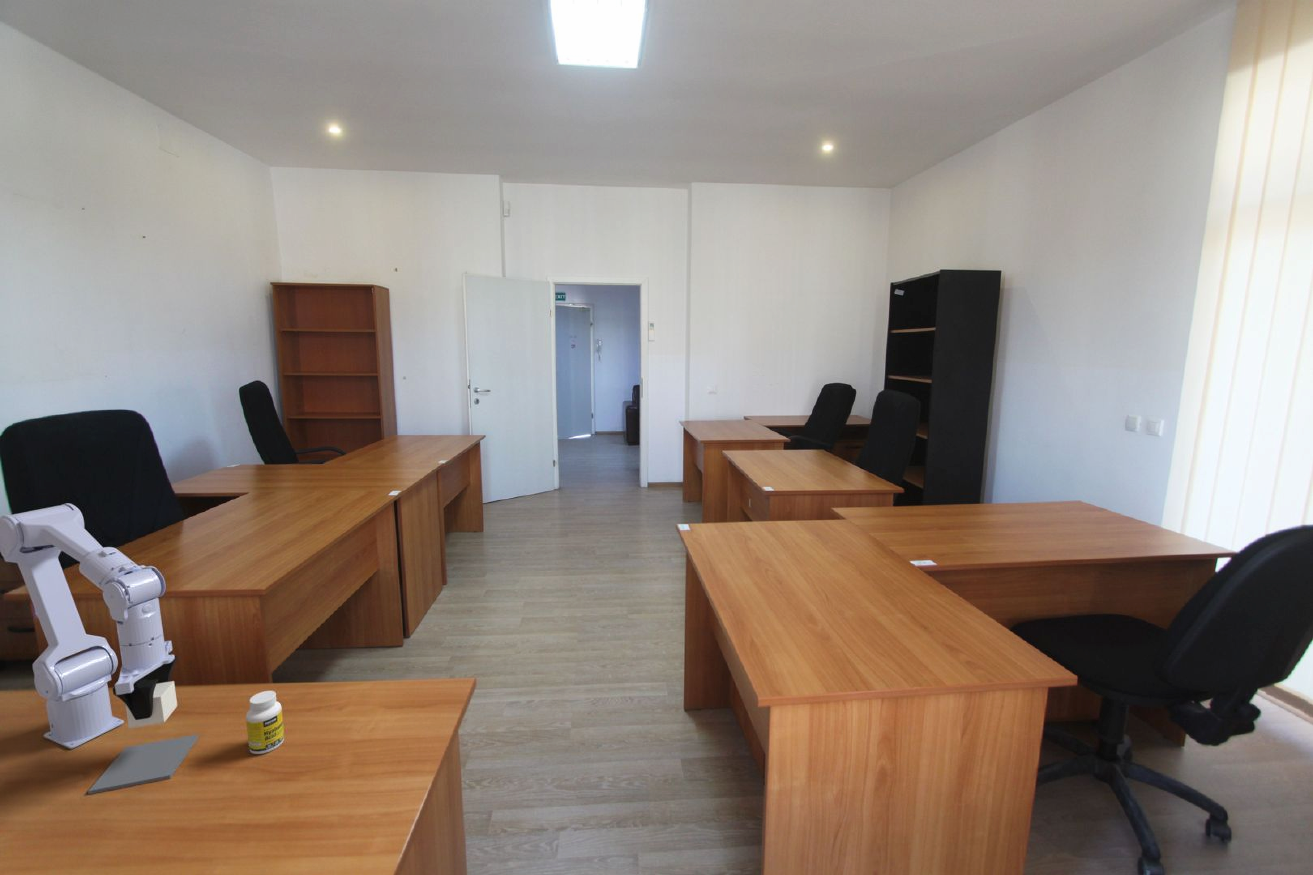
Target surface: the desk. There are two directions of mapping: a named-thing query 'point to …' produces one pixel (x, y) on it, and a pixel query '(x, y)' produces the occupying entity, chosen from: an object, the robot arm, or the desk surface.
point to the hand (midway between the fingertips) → (151, 708)
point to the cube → (157, 706)
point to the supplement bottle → (264, 723)
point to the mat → (144, 764)
